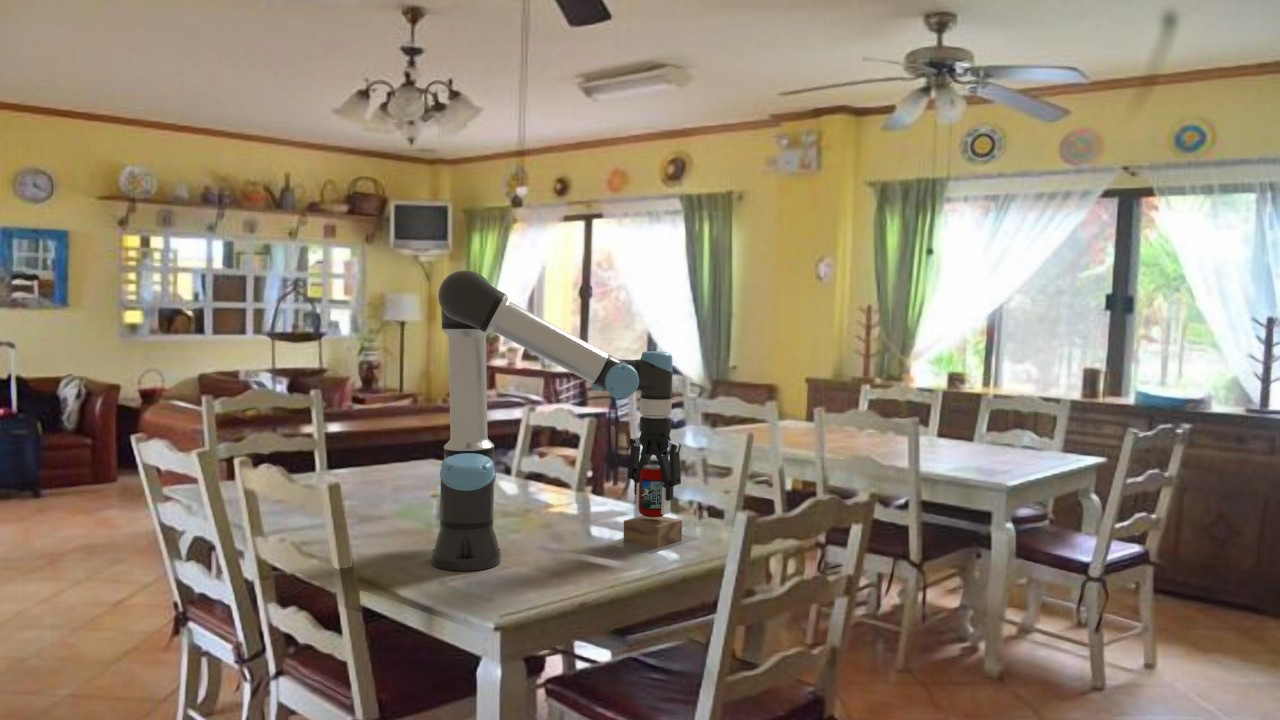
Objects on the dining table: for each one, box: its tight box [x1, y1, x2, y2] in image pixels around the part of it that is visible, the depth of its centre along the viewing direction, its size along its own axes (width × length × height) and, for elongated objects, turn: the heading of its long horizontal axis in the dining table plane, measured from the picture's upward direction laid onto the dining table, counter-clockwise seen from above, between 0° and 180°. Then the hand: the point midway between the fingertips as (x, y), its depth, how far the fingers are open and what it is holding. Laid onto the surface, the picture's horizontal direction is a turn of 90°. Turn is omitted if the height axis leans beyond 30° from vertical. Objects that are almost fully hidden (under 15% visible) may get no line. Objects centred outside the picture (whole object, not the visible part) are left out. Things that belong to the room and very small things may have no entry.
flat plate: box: [603, 534, 701, 555], centre depth 244 cm, size 20×14×1 cm
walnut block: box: [623, 515, 683, 548], centre depth 244 cm, size 10×10×5 cm
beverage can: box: [638, 463, 665, 518], centre depth 243 cm, size 7×7×12 cm
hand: (653, 511), depth 243 cm, fingers closed on beverage can, 7 cm apart
